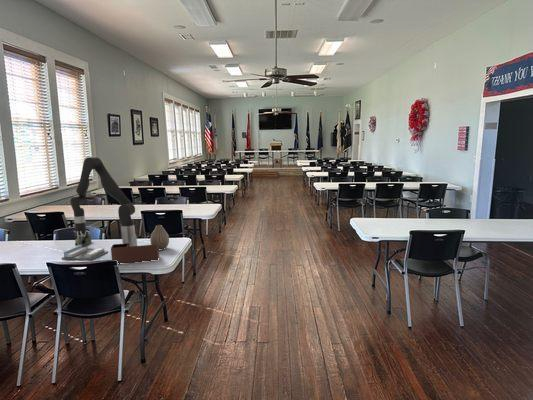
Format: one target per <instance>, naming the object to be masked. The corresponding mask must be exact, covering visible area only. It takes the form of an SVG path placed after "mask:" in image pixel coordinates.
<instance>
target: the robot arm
mask: <svg viewBox="0 0 533 400" xmlns="http://www.w3.org/2000/svg"><path fill="white" fill-rule="evenodd" d="M81 169H82V170H81V173H80V174H81V175H80V179H79V182H78V184H77V187H76V190H75V192H76V194H77V195H75V196H72V197H71V198H70V201H69V202H70V206H71V208H72V211H73V222H74V229H75V230H73V231H72V234H73V237H74V239H75V240H76V239H78V238H80V237H82V238H83V244H86V239H87V238H88V236H89V234H91V232H90V231H89V230H87V229H86V227H87V223H86V217H85V216H86V215H85V210H84V208H83V207H81V206H82V205H83V204H84V203H85V202H86V199H87V192H88V190H89V187H90V175H91V173H92V171H93V170H94V171H95V172H96V174H98V176H99V179H100V183H101V186H102V188H103V189H104V191H105V192H106V193H107V194H108V195H109V196H110V197H112V198H113V199H115V200H116V201H117V202H118V204H119V205H120V206H118V219H119V223H120V230H121V231H120V232H121V241H122V243H121V244H125V243H129V247H130V246H138V239H137V234H136V229H135V220H133V219H132V217H131V216H132V215H134V213H135V212H136V207H135V205H134V204H133V203H132V201H130V199H129V198H128V197H127V196H126V195H125V193H124V192H123V191H122V189H121V187H120V186H119V185H118V184H117V182H116V180H115V179H114V178H113V177H112V175H111V174H110V173H109V171H108V170H107V168H106V167H105V165H104V163H103V162H102V160H101V158H99V157H98V156H88V157H85V159H84V160H83V162H82V168H81ZM86 245H87V244H86Z"/></svg>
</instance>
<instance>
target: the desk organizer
mask: <svg viewBox="0 0 533 400" xmlns="http://www.w3.org/2000/svg"><path fill="white" fill-rule="evenodd" d="M159 253H160V250H158V245H157V244H155V245H151V244H144V245H137V246H130V247H129V243H125V244H122V243H114V244H113V243H112V246H111V247H110V254H111V261H112V260H117V261H118V263H119V264H118V265H121V264H120V263H129V264H136V263H135V262H139V263H143V262H142V261H150V262H152V261H151V260H158V258H159V259H160V257H159V256H160V254H159Z"/></svg>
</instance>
